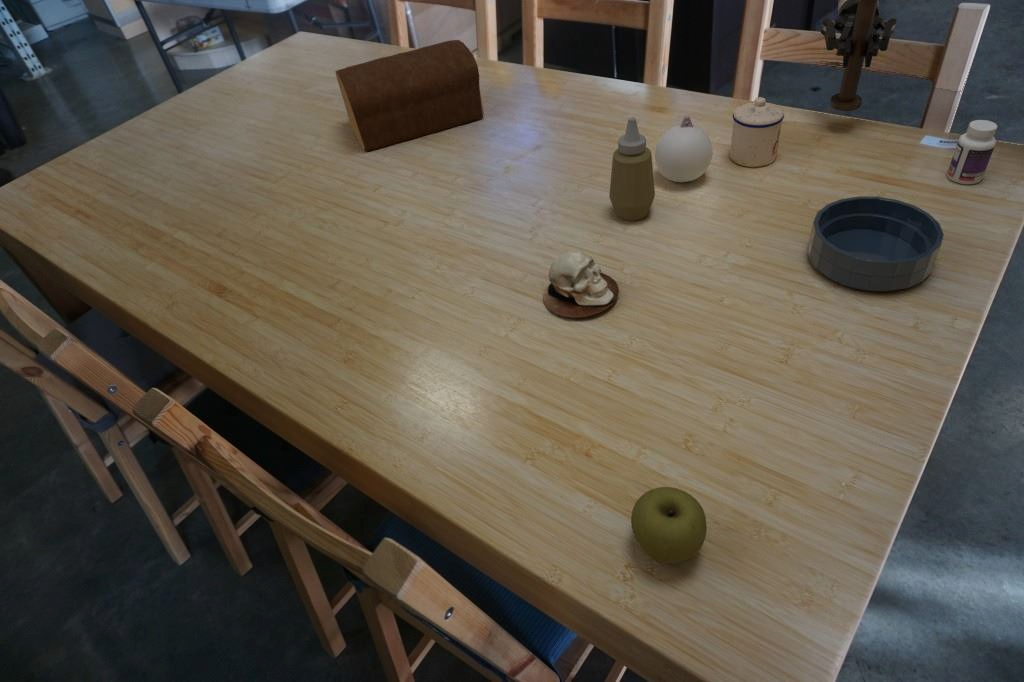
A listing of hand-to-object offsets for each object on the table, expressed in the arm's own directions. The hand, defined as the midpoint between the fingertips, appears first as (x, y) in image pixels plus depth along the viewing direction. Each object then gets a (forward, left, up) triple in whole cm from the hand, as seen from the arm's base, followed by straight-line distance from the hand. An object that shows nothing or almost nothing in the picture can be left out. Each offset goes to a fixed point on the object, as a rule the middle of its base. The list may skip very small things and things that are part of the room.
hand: (857, 59), depth 121 cm
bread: (+63, +68, -16) cm, 94 cm away
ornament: (+6, +32, -16) cm, 36 cm away
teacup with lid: (+6, +16, -16) cm, 24 cm away
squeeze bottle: (+1, +46, -16) cm, 49 cm away
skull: (-15, +65, -16) cm, 69 cm away
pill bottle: (-22, -7, -16) cm, 28 cm away
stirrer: (+4, -4, -11) cm, 12 cm away
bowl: (-31, +23, -16) cm, 42 cm away
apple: (-58, +77, -16) cm, 98 cm away
